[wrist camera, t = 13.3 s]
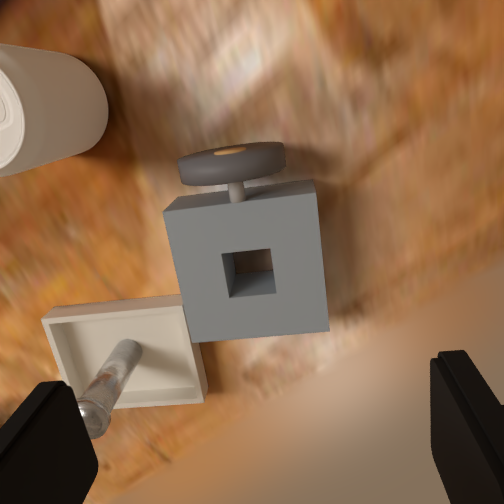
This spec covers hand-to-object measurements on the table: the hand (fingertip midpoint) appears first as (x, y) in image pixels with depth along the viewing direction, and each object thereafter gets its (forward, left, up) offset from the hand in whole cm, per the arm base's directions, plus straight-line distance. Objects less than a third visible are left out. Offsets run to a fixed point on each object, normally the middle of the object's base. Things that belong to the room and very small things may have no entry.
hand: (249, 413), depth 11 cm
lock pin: (+17, +15, -28) cm, 36 cm away
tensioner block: (+3, +4, -28) cm, 29 cm away
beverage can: (+17, -9, -28) cm, 34 cm away
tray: (+17, +15, -28) cm, 36 cm away
